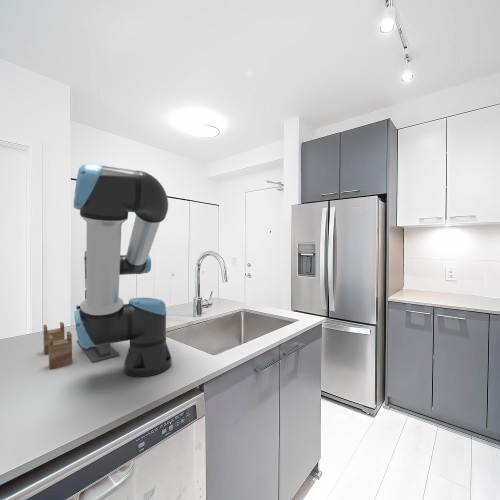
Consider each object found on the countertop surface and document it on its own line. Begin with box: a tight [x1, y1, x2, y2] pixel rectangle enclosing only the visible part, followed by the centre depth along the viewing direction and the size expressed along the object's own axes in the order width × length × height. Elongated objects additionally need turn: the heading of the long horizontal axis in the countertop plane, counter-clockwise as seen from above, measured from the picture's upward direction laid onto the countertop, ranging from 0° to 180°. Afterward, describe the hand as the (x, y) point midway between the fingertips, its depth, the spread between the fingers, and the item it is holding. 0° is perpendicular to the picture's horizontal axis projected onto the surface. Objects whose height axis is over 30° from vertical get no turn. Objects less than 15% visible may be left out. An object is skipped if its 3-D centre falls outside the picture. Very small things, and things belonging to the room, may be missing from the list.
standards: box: [43, 321, 73, 370], centre depth 99 cm, size 20×6×10 cm, turn 42°
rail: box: [92, 344, 111, 357], centre depth 108 cm, size 24×4×5 cm, turn 43°
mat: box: [76, 339, 120, 364], centre depth 108 cm, size 28×9×1 cm, turn 42°
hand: (96, 345), depth 108 cm, fingers open, 6 cm apart
